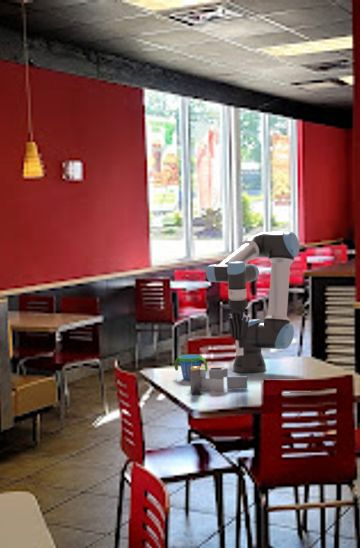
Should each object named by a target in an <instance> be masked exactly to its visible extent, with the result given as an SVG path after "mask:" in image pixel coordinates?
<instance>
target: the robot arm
mask: <svg viewBox="0 0 360 548" xmlns="http://www.w3.org/2000/svg"><path fill="white" fill-rule="evenodd" d="M299 253H300V244H299V239H298V237H297V235H296V233H294V232H293V231H286V230H283V231H263V232H258V233H256V234H254V235H252V236H249V237H248V238H246V239H245V240H244V241H242V242H241V244H240V247H238V248H237V249H236V250H234V251H233V252H232V253H231V254H229V255H228V256H227V257H226V258H224V259H223V260H221V261H220V262H219V263H218V264H210V265H208V266H207V267H206V272H205V275H206V278H207V280H208V281H209V282H210V283H227V289H228V290H227V291H228V292H227V294H228V299H229V300H228V309H229V310H230V313H229V314H227V315H226V317H227V319H228V324H229V330H230V333H231V334H230V335H231V338H233V339H234V341H235V343H234V347H235V358H234V361H233V364H232V370H233V371H234V372H236V373H246V374H247V373H258V372H260V373H261V372H264V371H266V370H267V367H266V366H267V364H266V362H265V359H264V356H263V352H262V349H271V350H273V349H274V350H287V349H289V347H290V346H291V345H292V343H293V339H294V333H295V329H294V325H293V324H292V323H291V320H290V318H289V317H288V316H287V315H288V306H289V305H288V303H289V290H290V289H289V288H290V287H289V286H290V276H291V275H290V271H291V265H292V264H293V263H294V261H295V258H296V257H298V256H299ZM256 258H268V261H269V262H270V264H271V266H270V278H269V279H270V280H269V281H270V282H269V295H268V308H267V315H266V316H265V317H264V319H263V322H262V321H261V319H260V318H256V319H255V318H254V319H251V318H250V316H247V315H246V314H247V313H246V309H247V308H248V302H247V301H248V300H247V297H248V293H247V284H248V283H252V282H254V281H256V280H258V278H259V275H260V270H259V268H258V266H257V265H256V264H254V263H248V262H251V261H252V260H256Z"/></svg>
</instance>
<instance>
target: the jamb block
mask: <svg viewBox="0 0 360 548" xmlns="http://www.w3.org/2000/svg"><path fill="white" fill-rule="evenodd" d="M200 369H205V366H201V367H200ZM190 377H191V368H190ZM190 390H191V391H192V377H191V380H190Z"/></svg>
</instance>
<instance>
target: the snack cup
mask: <svg viewBox="0 0 360 548" xmlns="http://www.w3.org/2000/svg"><path fill="white" fill-rule="evenodd" d="M178 361H179V364H180V370H181V374H182V378H183V380H186V381H191V377H190V368H191V367H193V366H199V367H202V362H203V365H204V367H205V369H206V373H207V372H208V370H209V367H208V362H207V360H206V359H205V358H204V357H203V355H201V354H195V353H194V354H183V355H180V356H178V357H177V358H176V359H175V362H174V370H175V371H178V370H179V366H178Z"/></svg>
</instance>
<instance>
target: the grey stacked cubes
mask: <svg viewBox="0 0 360 548" xmlns="http://www.w3.org/2000/svg"><path fill="white" fill-rule="evenodd" d="M228 370H229V369H228V368H227V367H226V368H225V367H220V366H219V367H217V366H216V367H208V376H209V377H208V378H209V379H216V378H223V377H224V378H226V385H227V386H226V387H227V390H238V389H239V390H240V389H241V390H243V389H248V376H247V375H239V376H238V375H237V376H236V375H235V376H232V375H231V376H228V373H229V372H228Z"/></svg>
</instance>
